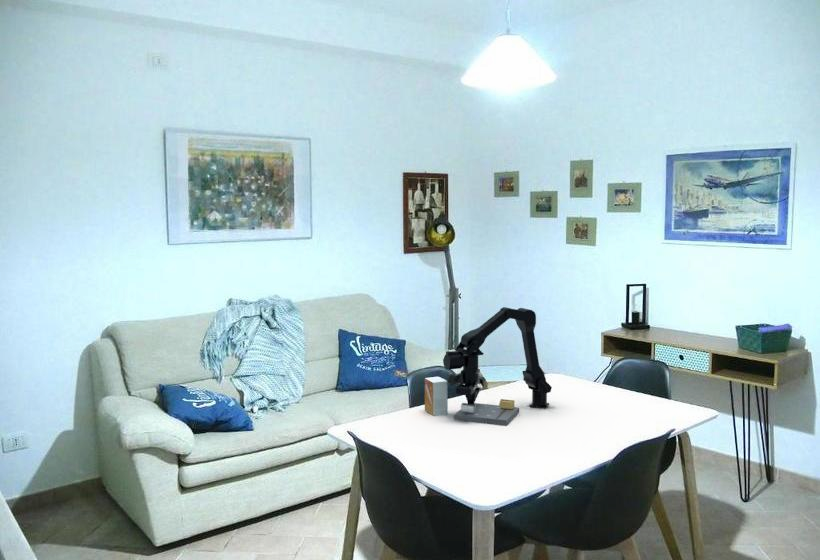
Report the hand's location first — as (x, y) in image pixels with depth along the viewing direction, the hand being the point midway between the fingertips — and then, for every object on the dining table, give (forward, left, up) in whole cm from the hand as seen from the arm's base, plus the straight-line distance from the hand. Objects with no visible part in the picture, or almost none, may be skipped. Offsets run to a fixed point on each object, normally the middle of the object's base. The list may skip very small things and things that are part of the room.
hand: (470, 407), depth 275 cm
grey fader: (+3, 0, -1) cm, 3 cm away
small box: (0, -14, -3) cm, 14 cm away
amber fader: (-7, +12, -1) cm, 14 cm away
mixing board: (-2, +6, -3) cm, 7 cm away
